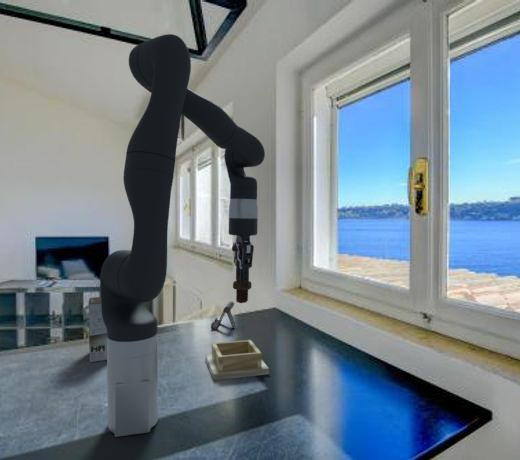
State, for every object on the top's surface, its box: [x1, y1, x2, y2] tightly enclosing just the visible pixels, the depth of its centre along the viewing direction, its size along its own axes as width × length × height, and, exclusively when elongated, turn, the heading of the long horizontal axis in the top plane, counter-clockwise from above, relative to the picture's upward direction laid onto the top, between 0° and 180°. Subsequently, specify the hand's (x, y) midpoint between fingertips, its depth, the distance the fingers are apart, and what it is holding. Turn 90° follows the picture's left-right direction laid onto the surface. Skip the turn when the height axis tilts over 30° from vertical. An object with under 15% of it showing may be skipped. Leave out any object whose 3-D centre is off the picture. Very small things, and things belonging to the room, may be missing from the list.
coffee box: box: [88, 296, 107, 363], centre depth 111 cm, size 9×6×16 cm
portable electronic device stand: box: [210, 301, 236, 331], centre depth 140 cm, size 9×8×8 cm
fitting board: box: [205, 339, 270, 381], centre depth 103 cm, size 14×14×5 cm
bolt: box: [231, 244, 254, 304], centre depth 102 cm, size 6×5×15 cm
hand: (242, 282), depth 102 cm, fingers closed on bolt, 4 cm apart
